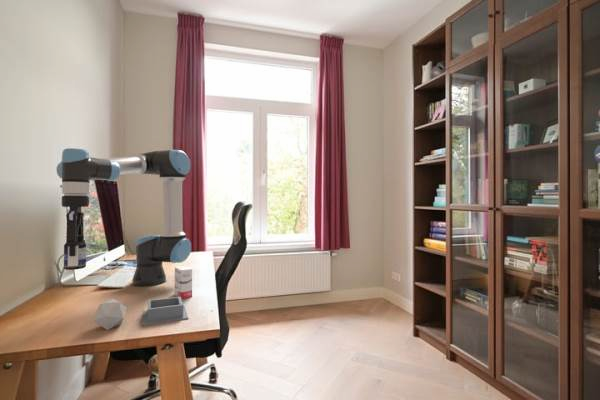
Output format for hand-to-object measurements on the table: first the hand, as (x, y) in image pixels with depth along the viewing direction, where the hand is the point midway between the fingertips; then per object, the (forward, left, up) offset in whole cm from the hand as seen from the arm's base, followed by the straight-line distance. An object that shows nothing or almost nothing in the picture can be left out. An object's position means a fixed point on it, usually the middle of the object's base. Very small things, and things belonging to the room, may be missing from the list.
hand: (75, 263), depth 107 cm
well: (+8, +27, -19) cm, 34 cm away
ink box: (-15, +35, -19) cm, 43 cm away
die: (+11, +11, -19) cm, 25 cm away
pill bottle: (0, 0, -2) cm, 2 cm away
